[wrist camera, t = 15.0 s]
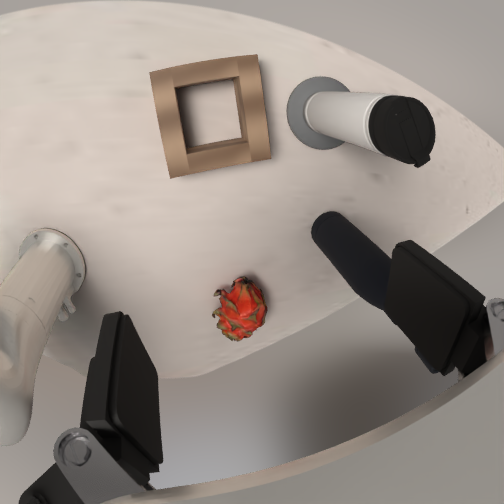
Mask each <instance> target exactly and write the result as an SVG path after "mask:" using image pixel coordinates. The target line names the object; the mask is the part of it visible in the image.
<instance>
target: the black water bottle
mask: <svg viewBox="0 0 504 504" xmlns="http://www.w3.org/2000/svg"><path fill="white" fill-rule="evenodd" d="M311 234H312V239H313V240H314V242H315V243H316V244H317V246H318V247H319V248H320V249H321V250H322V252H323V253H324V254H325V255H326V257H327V258H328V259H329V260H330V261H331V263H332V264H333V265H334V266H335V268H336V269H337V270H338V271H339V273H340V274H341V275H342V276H343V278H344V279H345V280H346V281H347V283H348V284H349V285H350V286H351V288H352V289H353V290H354V292H355V293H357V294H358V295H359V296H360V297H362V298H363V299H364V300H366V301H367V302H369V303H370V304H372V305H373V306H375V307H377V308H379V309H381V310H383V311H384V312H385V313H386V311H385V299H386V294H387V287H388V281H389V274H390V267H391V260H392V259H391V258H390V257H389V256H388V255H387V254H386V253H384V252H383V251H382V250H381V249H380V248H379V247H378V246H377V245H376V244H374V243H373V242H372V241H371V240H370V239H369V238H368V237H367V236H365V235H364V234H363V233H362V232H361V231H360V230H359V229H357V228H356V227H355V226H354V225H353V224H352V223H350V222H349V221H348V220H347V219H346V218H345V217H343V216H342V215H341V214H340V213H337V212H326V213H323V214H322V215H320V216H319V217H318V218H317V219H316V220H315V222H314V224H313V226H312V231H311ZM386 314H387V313H386ZM387 316H388V314H387ZM388 317H389V316H388ZM389 318H390V317H389ZM390 319H391V318H390ZM391 321H392V322H393V323H394V324H395V325H396V323H395V322H394V321H393V320H392V319H391ZM415 352H416V353H417V355H418V356H419V357H420V358H421V360H422V361H423V363H424V364H425V365H426V367H427V368H428V369H429V371H430V372H431V373H433V374H434V373H438V372H440V371H437V370H435V369H434V368H433V367H432V365H431V364H430V363H429V362H428V361H427V359H426V358H425V357H424V356H423V355H422V353H421V352H420V351H419V350H418V349H417V348H416V346H415Z"/></svg>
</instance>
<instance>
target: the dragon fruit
mask: <svg viewBox="0 0 504 504" xmlns="http://www.w3.org/2000/svg"><path fill="white" fill-rule="evenodd" d="M243 278H244V279H245V282H244V279H243ZM243 278H239V279H237V280H234V281H233V282H234V283H233V284H232V287H233V286H234V289H233V290H232V291H231V292H230V293H227V292H226V291H225V290H224V289H223V290H221V289H220V290H216V292H215V293H214V296H218V295H222V296H221V297H220V298H219V299H220V302H221V304H222V308H218V309H216V310H215V311H214V312H213V314H212V316H213V317H214V318H215V314H216V315H217V316H219V317H220V319H219V322H218V323H217V328H219V329H221V330H222V334H223V335H225V337H227V338H229V339H230V340H231V341H233V339H234V341H240V340H242V339H243V338H249V337H250V336H251V335H252V333H253V331H255V330H256V329H257V328H258V327H261V326H262V325H263V324H264V323H265V316H266V313H267V306H266V304H265V300H264V296H263V293H262V290H261V289H260V290H259V289H258V288H257V287H256V286H255V284H254V283H253V281H251V280H248V279H247V278H246V277H243ZM232 287H231V288H232Z"/></svg>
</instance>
